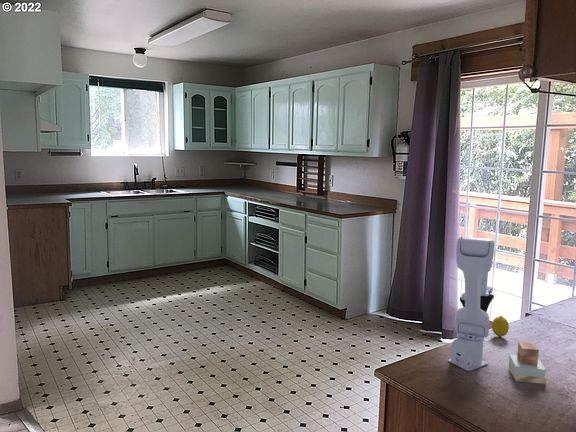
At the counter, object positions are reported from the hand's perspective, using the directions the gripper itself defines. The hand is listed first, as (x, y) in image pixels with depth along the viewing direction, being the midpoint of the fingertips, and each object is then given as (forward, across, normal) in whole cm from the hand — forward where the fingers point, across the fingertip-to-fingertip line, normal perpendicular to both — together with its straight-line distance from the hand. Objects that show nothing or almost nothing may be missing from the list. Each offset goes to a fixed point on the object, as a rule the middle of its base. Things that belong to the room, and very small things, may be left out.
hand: (475, 316), depth 160 cm
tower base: (+11, -6, -22) cm, 25 cm away
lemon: (+11, +13, -1) cm, 17 cm away
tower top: (+8, -6, -22) cm, 24 cm away
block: (+6, -6, -22) cm, 23 cm away
